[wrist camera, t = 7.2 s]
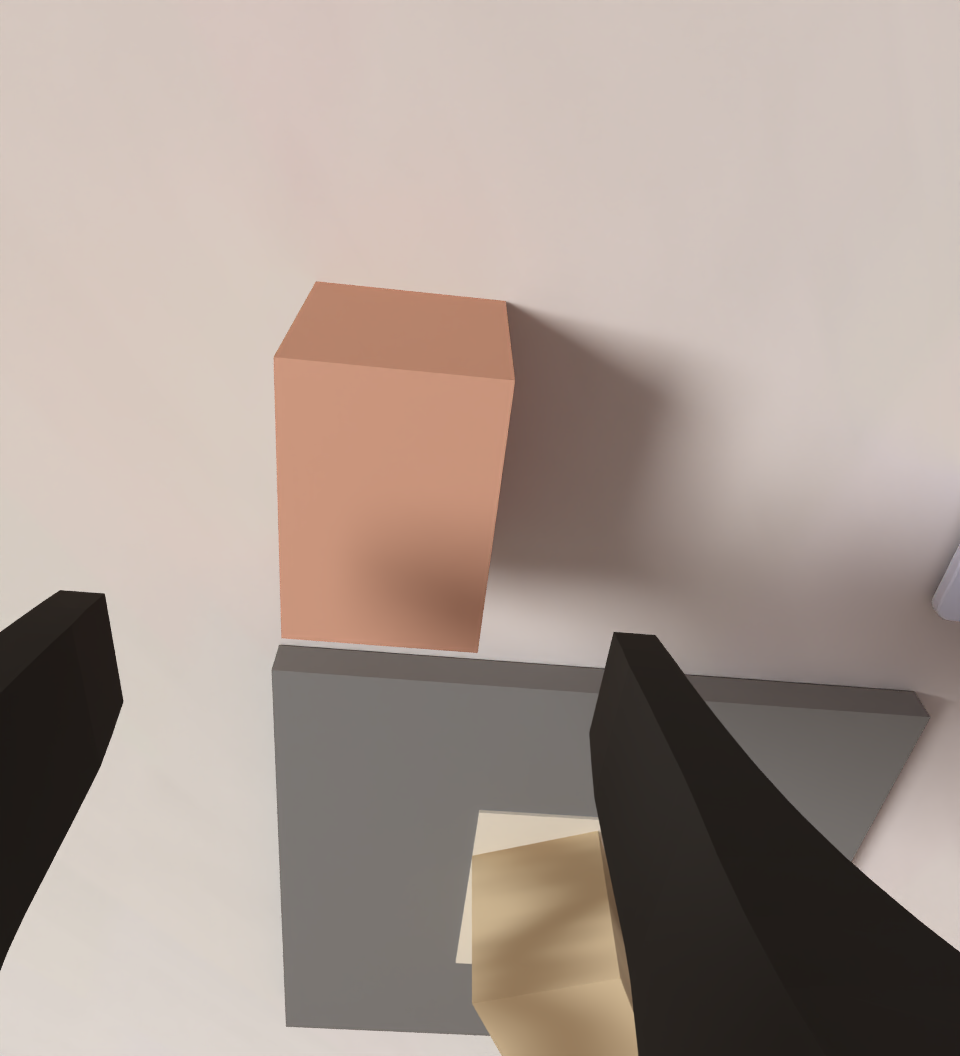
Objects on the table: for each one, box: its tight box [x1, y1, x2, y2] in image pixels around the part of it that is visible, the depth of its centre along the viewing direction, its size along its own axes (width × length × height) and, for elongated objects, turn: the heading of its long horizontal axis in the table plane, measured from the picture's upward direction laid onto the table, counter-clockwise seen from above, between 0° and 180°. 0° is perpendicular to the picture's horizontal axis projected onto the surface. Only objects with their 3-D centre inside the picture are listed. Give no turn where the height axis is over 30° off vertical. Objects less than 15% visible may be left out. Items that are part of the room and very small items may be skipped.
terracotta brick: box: [274, 282, 515, 653], centre depth 17 cm, size 4×6×4 cm, turn 174°
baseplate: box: [272, 645, 930, 1036], centre depth 27 cm, size 18×18×1 cm
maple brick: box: [472, 831, 638, 1056], centre depth 25 cm, size 4×6×4 cm, turn 17°
